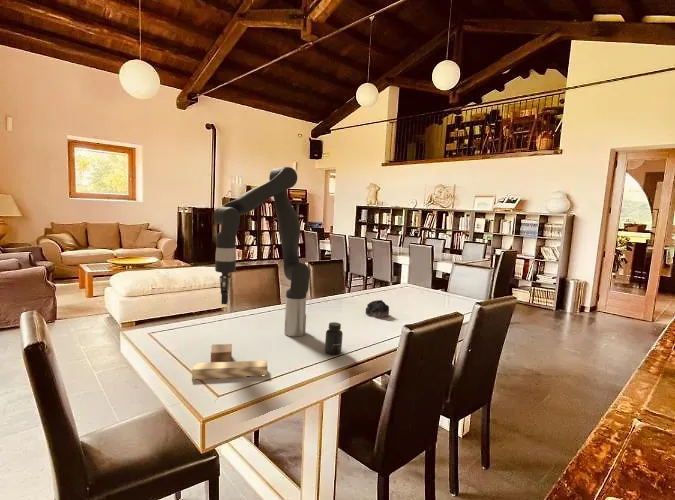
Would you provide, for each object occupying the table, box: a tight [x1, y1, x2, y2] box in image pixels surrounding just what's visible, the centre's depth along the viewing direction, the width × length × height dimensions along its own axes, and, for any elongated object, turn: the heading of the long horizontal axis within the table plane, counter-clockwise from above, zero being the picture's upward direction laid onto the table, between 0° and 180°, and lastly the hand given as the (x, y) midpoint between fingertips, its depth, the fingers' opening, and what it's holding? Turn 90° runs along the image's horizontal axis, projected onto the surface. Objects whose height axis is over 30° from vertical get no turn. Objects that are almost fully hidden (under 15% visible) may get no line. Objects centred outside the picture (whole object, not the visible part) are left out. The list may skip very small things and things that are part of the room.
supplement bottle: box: [324, 321, 343, 356], centre depth 148 cm, size 7×7×12 cm
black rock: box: [365, 299, 390, 318], centre depth 207 cm, size 13×14×10 cm
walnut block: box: [210, 343, 233, 363], centre depth 134 cm, size 7×8×5 cm
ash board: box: [191, 359, 268, 381], centre depth 124 cm, size 24×5×4 cm, turn 103°
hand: (224, 303), depth 142 cm, fingers closed
